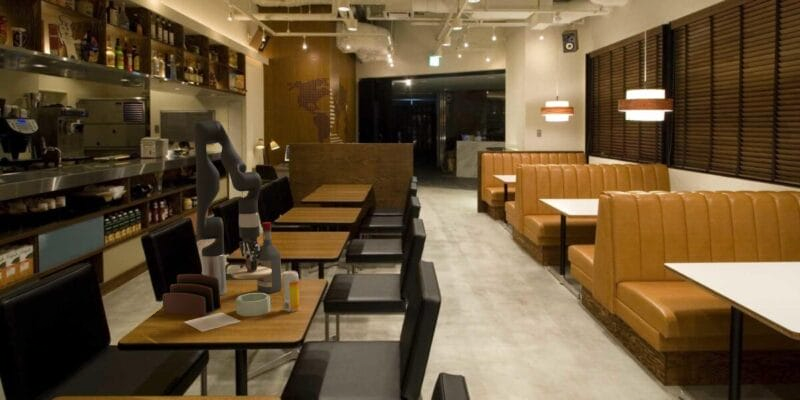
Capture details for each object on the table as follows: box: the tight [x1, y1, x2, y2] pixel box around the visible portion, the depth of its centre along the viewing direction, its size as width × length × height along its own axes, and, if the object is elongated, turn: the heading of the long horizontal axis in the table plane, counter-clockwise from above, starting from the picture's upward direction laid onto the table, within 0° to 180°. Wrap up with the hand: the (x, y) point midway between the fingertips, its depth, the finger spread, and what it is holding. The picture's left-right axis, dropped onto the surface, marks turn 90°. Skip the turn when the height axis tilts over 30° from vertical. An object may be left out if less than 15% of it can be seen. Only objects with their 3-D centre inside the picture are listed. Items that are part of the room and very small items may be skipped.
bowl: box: [235, 292, 272, 317], centre depth 230 cm, size 12×12×6 cm
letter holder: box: [162, 273, 222, 317], centre depth 232 cm, size 10×20×14 cm, turn 71°
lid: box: [230, 258, 272, 280], centre depth 228 cm, size 15×15×6 cm
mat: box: [184, 312, 242, 332], centre depth 218 cm, size 15×15×1 cm
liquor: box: [256, 221, 283, 294], centre depth 259 cm, size 9×9×30 cm
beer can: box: [281, 270, 301, 313], centre depth 232 cm, size 6×6×15 cm
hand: (251, 269), depth 228 cm, fingers closed on lid, 3 cm apart
